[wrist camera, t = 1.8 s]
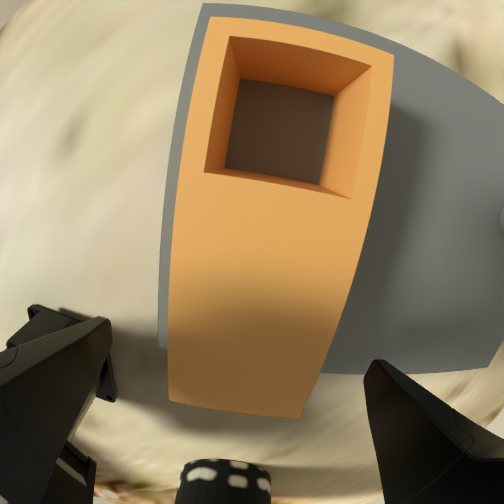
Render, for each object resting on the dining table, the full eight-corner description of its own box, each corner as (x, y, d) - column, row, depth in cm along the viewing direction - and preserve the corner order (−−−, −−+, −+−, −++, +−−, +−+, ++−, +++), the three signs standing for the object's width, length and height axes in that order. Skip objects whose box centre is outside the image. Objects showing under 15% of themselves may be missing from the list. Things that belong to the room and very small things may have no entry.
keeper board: (477, 356, 15) (536, 432, 6) (166, 331, 14) (100, 473, 6) (539, 148, 10) (632, 168, 1) (208, 17, 9) (147, -117, 1)
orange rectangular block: (291, 354, 13) (299, 418, 9) (190, 339, 13) (168, 400, 9) (350, 86, 9) (394, 55, 5) (227, 63, 9) (210, 16, 5)
